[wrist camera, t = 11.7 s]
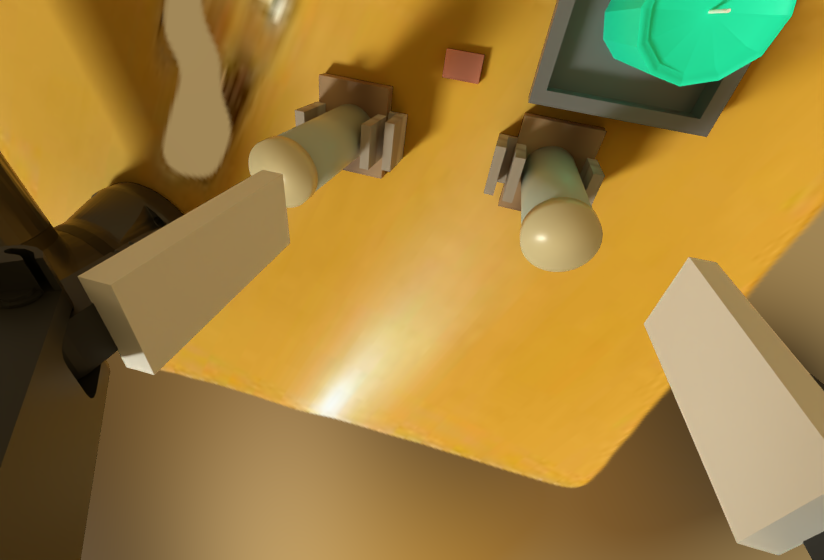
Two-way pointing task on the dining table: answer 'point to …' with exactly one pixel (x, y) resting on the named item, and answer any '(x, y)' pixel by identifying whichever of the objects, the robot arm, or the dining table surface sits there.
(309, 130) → the cream round cylinder
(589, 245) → the fuse
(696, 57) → the candle
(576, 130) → the fuse clips
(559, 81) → the tray
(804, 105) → the dining table surface
